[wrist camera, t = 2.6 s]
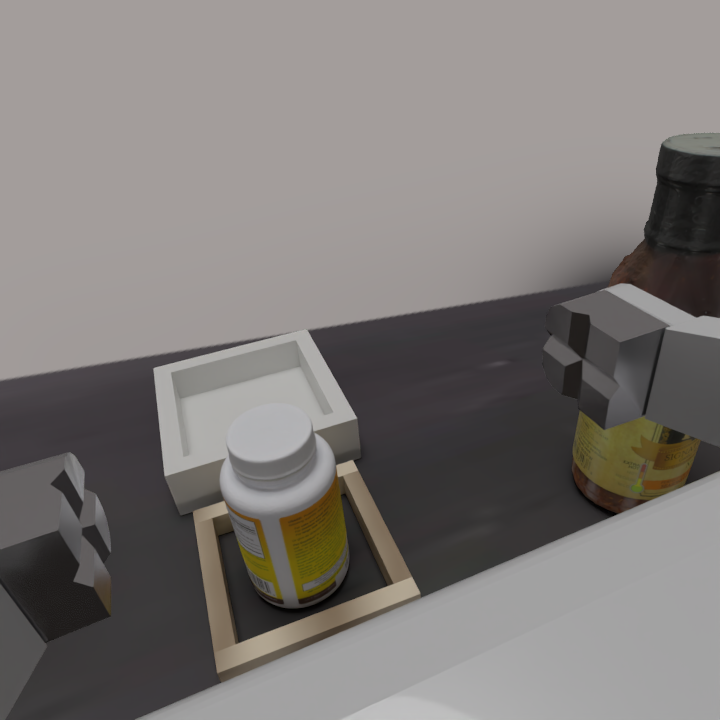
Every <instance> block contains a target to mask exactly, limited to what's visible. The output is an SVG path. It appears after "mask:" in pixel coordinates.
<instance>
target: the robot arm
mask: <svg viewBox="0 0 720 720" xmlns="http://www.w3.org/2000/svg"><path fill="white" fill-rule="evenodd" d="M545 329H546V330H547V331H548V333H549V334H550V335H551V337H550V338H549V340H548V341H547V343H546V345H545V346H544V348H543V357H542V365H543V368H544V372H545V375H546V378H547V379H548V381H549V382H550V384H551V385H552V387H553V388H554V389H556V390H557V391H558V392H559V393H560V394H561V395H564V396H567V397H571V398H574V399H577V401H578V409H579V410H580V411H582V412H583V413H584V414H585V415H586V416H588V417H589V418H590V419H591V420H592V421H594V422H595V423H596V424H597V425H598V426H600V427H601V428H602V429H603V430H606V429H609V428H612V427H615V426H618V425H621V424H624V423H627V422H630V421H633V420H636V419H638V418H641V417H644V416H645V419H647V420H650V421H652V422H655V423H657V424H660V425H663V426H665V427H668V428H671V429H673V430H676V431H679V432H681V433H684V434H686V435H689V436H692V437H694V438H697V439H700V440H702V441H705V442H707V443H710V444H713V445H715V446H718V447H720V318H715V317H709V316H701V317H698V318H696V317H694V316H692V315H690V314H688V313H686V312H684V311H682V310H680V309H678V308H676V307H674V306H672V305H670V304H668V303H666V302H664V301H663V300H661V299H659V298H657V297H655V296H653V295H651V294H649V293H647V292H645V291H643V290H641V289H639V288H637V287H635V286H633V285H631V284H622V283H620V284H617V285H615V286H612V287H609V288H606V289H603V290H600V291H598V292H596V293H593V294H590V295H587V296H583V297H580V298H577V299H574V300H571V301H568V302H565V303H561V304H558V305H555V306H552V307H550V309H549V311H548V313H547V315H546V322H545ZM110 554H111V544H110V534H109V529H108V523H107V519H106V516H105V513H104V511H103V508H102V505H101V503H100V501H99V499H98V497H97V495H96V494H95V493H93V492H91V491H88V490H86V489H84V471H83V469H82V467H81V465H80V464H79V462H78V460H77V458H76V457H75V456H74V455H73V454H71V453H70V452H68V453H65V454H61V455H58V456H54V457H51V458H47V459H44V460H40V461H37V462H33V463H30V464H26V465H23V466H19V467H15V468H12V469H8V470H5V471H1V472H0V720H5V719H6V718H7V716H8V714H9V712H10V711H11V709H12V707H13V705H14V704H15V702H16V700H17V698H18V697H19V695H20V693H21V691H22V690H23V688H24V686H25V684H26V683H27V681H28V679H29V677H30V676H31V674H32V672H33V670H34V669H35V667H36V665H37V663H38V662H39V660H40V658H41V656H42V654H43V653H44V651H45V649H46V647H47V645H46V643H47V642H50V641H52V640H54V639H57V638H59V637H62V636H64V635H67V634H69V633H72V632H74V631H77V630H79V629H82V628H84V627H86V626H89V625H91V624H94V623H96V622H99V621H101V620H104V619H106V618H109V617H111V577H110V575H109V573H108V572H107V570H106V568H105V566H104V563H105V561H106V560H107V558H108V557H109V555H110ZM135 720H720V471H718V472H716V473H714V474H711V475H709V476H707V477H704V478H702V479H700V480H697V481H695V482H693V483H690V484H688V485H686V486H683V487H681V488H678V489H676V490H674V491H671V492H669V493H667V494H664V495H662V496H660V497H657V498H655V499H653V500H650V501H648V502H646V503H643V504H641V505H639V506H636V507H634V508H631V509H629V510H627V511H624V512H622V513H620V514H617V515H615V516H613V517H610V518H608V519H606V520H603V521H601V522H599V523H596V524H594V525H592V526H589V527H587V528H585V529H582V530H580V531H577V532H575V533H573V534H570V535H568V536H566V537H563V538H561V539H559V540H556V541H554V542H552V543H549V544H547V545H545V546H542V547H540V548H537V549H535V550H533V551H530V552H528V553H526V554H523V555H521V556H519V557H516V558H514V559H512V560H509V561H507V562H505V563H502V564H500V565H497V566H495V567H493V568H490V569H488V570H486V571H483V572H481V573H479V574H476V575H474V576H472V577H469V578H467V579H465V580H462V581H460V582H457V583H455V584H453V585H450V586H448V587H446V588H443V589H441V590H439V591H436V592H434V593H432V594H429V595H427V596H425V597H422V598H420V599H417V600H415V601H413V602H410V603H408V604H406V605H403V606H401V607H399V608H396V609H394V610H392V611H389V612H387V613H385V614H382V615H380V616H377V617H375V618H373V619H370V620H368V621H366V622H363V623H361V624H359V625H356V626H354V627H352V628H349V629H347V630H345V631H342V632H340V633H338V634H335V635H333V636H330V637H328V638H326V639H323V640H321V641H319V642H316V643H314V644H312V645H309V646H307V647H305V648H302V649H300V650H298V651H295V652H293V653H290V654H288V655H286V656H283V657H281V658H279V659H276V660H274V661H272V662H269V663H267V664H265V665H262V666H260V667H258V668H255V669H253V670H251V671H248V672H246V673H243V674H241V675H239V676H236V677H234V678H232V679H229V680H227V681H225V682H222V683H220V684H218V685H215V686H213V687H211V688H208V689H206V690H204V691H201V692H199V693H196V694H194V695H192V696H189V697H187V698H185V699H182V700H180V701H178V702H175V703H173V704H171V705H168V706H166V707H164V708H161V709H159V710H156V711H154V712H152V713H149V714H147V715H145V716H142V717H140V718H138V719H135Z"/></svg>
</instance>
